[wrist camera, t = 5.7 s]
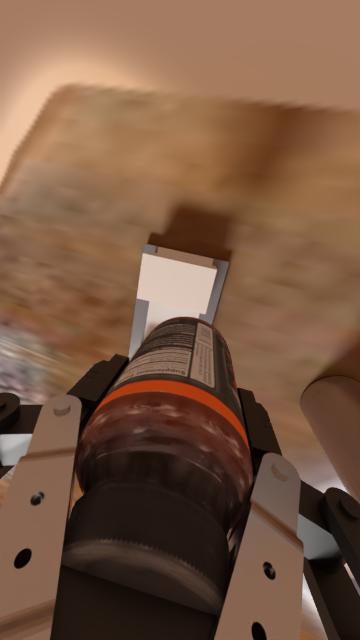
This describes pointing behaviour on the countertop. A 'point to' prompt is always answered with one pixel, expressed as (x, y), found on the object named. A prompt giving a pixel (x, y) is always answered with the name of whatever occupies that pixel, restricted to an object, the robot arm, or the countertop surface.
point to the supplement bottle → (164, 470)
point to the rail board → (174, 289)
